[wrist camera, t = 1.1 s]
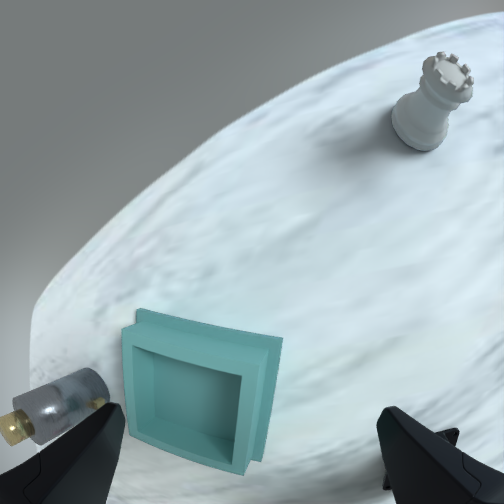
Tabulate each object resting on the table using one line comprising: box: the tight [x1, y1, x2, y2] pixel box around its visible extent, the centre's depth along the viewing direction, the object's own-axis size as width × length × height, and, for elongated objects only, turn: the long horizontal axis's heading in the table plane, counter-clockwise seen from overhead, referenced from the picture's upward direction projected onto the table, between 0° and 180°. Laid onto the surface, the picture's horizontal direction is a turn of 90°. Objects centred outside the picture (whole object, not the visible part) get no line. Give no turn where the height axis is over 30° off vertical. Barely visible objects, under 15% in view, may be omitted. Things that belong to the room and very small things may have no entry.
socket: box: [122, 308, 283, 476], centre depth 19 cm, size 12×12×4 cm
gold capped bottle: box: [0, 368, 110, 446], centre depth 18 cm, size 6×5×13 cm
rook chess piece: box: [391, 52, 474, 151], centre depth 13 cm, size 4×4×8 cm
